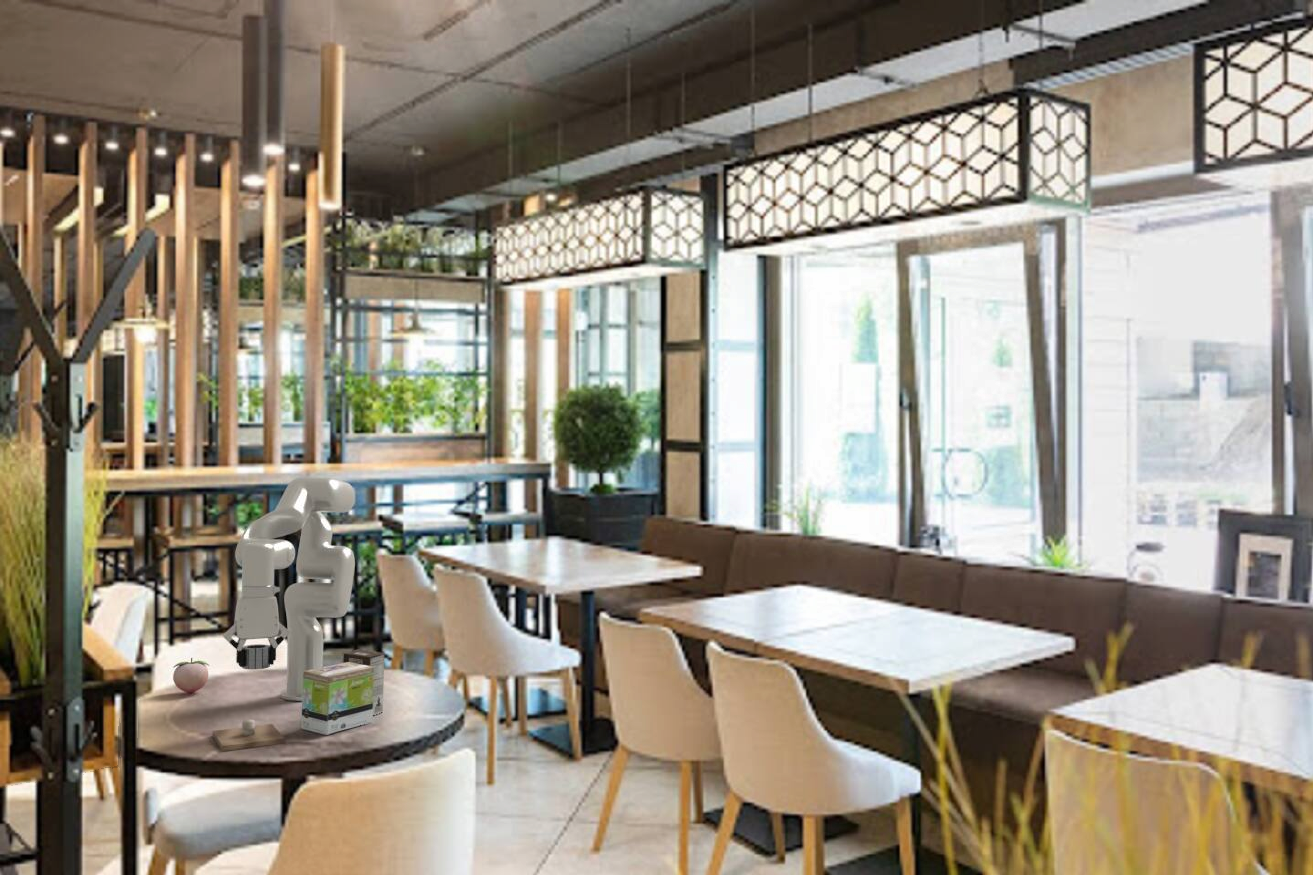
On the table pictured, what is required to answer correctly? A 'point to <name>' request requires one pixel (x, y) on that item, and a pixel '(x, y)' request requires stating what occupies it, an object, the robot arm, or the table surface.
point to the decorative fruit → (190, 675)
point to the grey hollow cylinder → (256, 656)
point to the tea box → (337, 697)
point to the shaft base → (248, 736)
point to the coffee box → (378, 663)
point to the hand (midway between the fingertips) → (256, 664)
